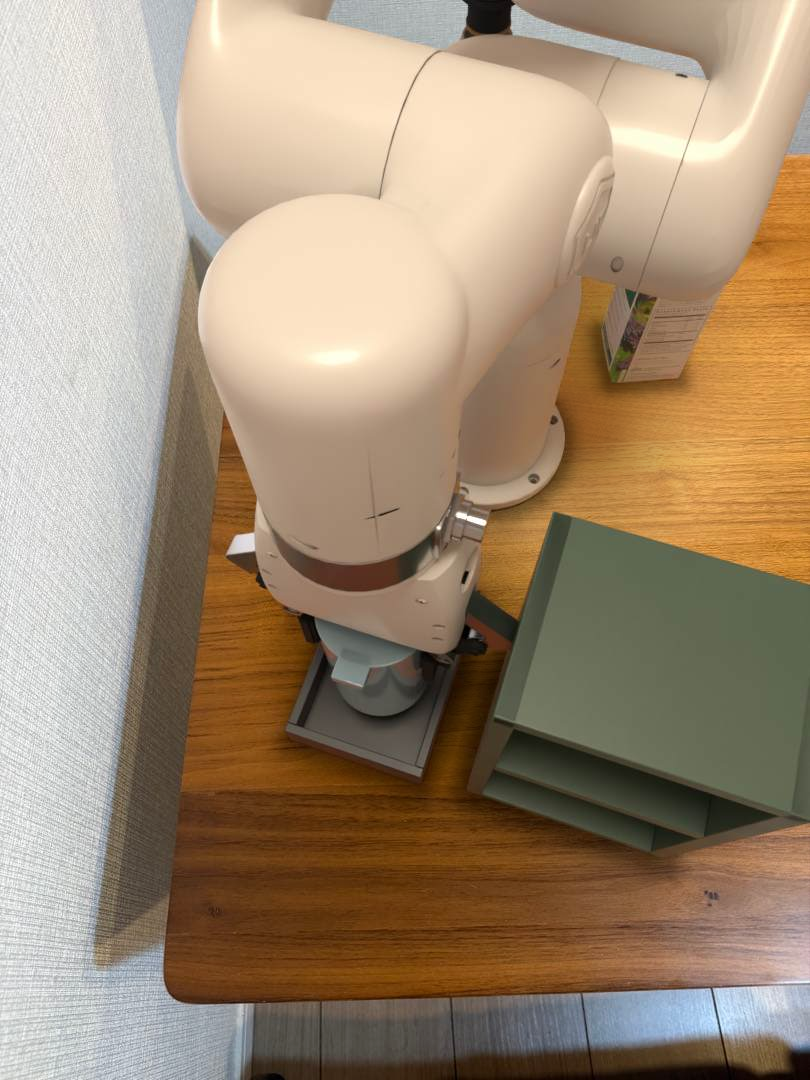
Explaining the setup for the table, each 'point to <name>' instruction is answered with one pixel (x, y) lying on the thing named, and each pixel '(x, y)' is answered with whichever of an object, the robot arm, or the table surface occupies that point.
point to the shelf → (652, 695)
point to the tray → (370, 723)
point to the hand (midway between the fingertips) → (378, 637)
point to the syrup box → (651, 334)
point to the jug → (372, 669)
